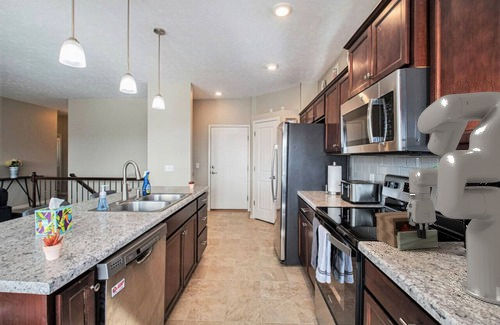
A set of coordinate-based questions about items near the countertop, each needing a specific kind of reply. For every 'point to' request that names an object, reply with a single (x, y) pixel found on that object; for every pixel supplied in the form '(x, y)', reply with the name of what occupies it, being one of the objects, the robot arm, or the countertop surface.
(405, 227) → the onion
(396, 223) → the cabinet
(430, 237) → the drawer
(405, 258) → the countertop surface
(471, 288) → the robot arm
